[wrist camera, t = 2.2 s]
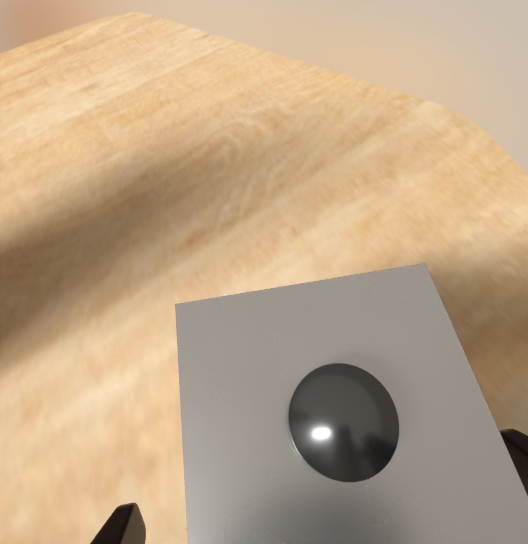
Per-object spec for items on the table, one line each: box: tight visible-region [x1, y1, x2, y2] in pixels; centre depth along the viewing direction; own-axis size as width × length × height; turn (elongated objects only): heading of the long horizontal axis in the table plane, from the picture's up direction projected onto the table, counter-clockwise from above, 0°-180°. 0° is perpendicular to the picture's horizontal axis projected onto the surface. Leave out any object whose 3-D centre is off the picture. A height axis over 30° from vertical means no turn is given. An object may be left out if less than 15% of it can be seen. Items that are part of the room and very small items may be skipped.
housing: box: [175, 263, 528, 544], centre depth 11 cm, size 5×5×13 cm
